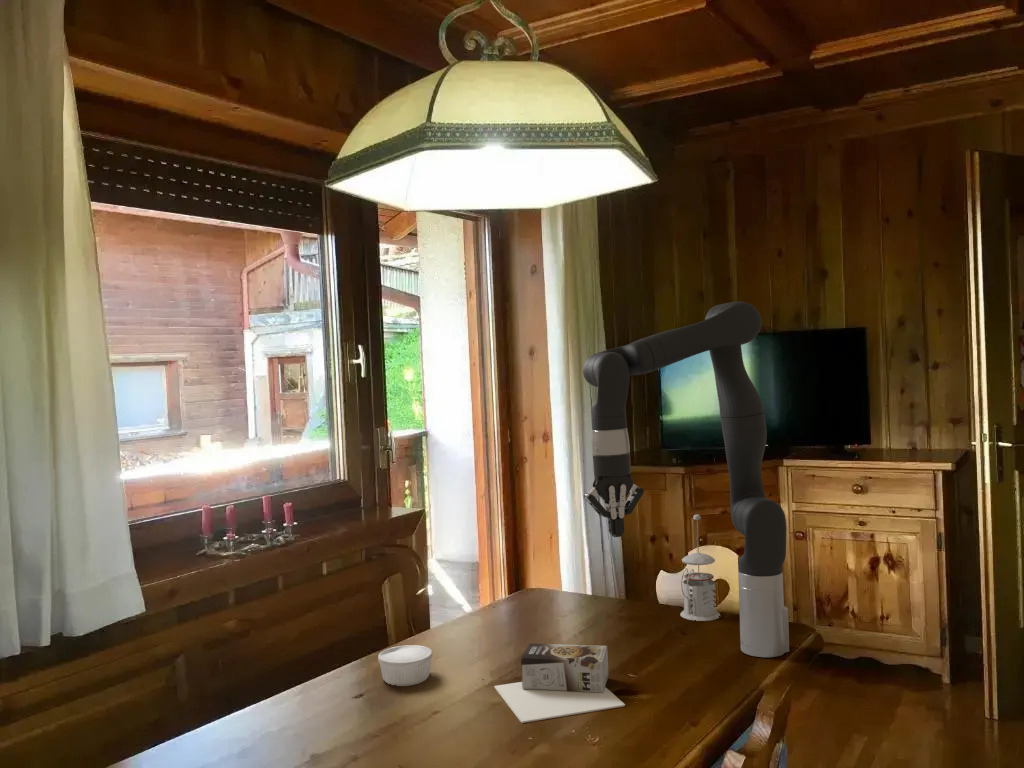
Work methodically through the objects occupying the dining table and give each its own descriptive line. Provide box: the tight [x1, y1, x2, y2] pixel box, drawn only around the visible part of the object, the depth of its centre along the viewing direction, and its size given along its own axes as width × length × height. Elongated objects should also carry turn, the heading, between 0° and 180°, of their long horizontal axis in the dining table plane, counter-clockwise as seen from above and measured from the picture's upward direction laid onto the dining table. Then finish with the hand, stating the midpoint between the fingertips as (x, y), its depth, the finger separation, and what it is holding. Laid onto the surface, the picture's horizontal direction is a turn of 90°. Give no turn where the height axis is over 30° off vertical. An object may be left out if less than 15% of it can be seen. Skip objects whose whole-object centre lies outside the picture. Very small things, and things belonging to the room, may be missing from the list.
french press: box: [680, 513, 721, 622], centre depth 211 cm, size 10×12×25 cm
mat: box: [493, 681, 626, 724], centre depth 164 cm, size 20×18×1 cm
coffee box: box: [520, 642, 609, 693], centre depth 169 cm, size 9×6×16 cm
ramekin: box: [377, 644, 433, 687], centre depth 176 cm, size 11×11×5 cm
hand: (616, 536), depth 173 cm, fingers closed
